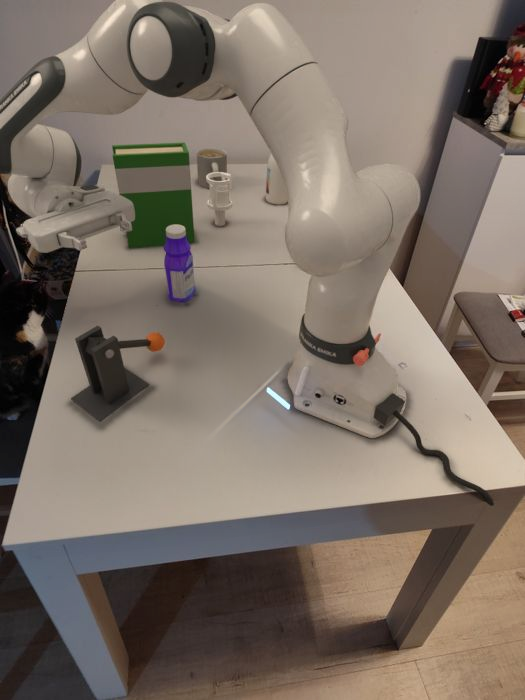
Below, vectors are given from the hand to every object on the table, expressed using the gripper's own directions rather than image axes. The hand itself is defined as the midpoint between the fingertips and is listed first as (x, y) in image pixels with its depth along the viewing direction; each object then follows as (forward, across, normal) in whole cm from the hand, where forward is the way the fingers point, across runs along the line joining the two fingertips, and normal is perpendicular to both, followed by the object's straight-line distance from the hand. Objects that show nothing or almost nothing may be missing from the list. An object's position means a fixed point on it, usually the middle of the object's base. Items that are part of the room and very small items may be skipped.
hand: (106, 236), depth 79 cm
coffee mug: (-44, +67, +21) cm, 83 cm away
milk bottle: (-21, +74, +21) cm, 80 cm away
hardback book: (-26, +30, +22) cm, 46 cm away
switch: (+13, -8, +15) cm, 21 cm away
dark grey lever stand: (+13, -12, +22) cm, 29 cm away
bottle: (-1, +16, +22) cm, 27 cm away
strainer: (-22, +49, +22) cm, 58 cm away
